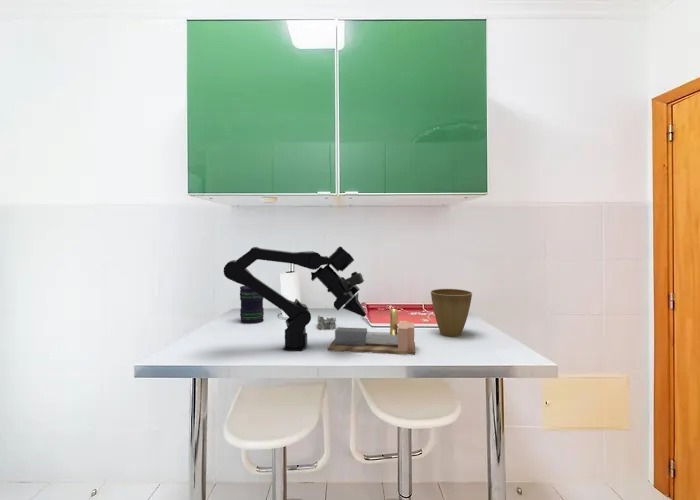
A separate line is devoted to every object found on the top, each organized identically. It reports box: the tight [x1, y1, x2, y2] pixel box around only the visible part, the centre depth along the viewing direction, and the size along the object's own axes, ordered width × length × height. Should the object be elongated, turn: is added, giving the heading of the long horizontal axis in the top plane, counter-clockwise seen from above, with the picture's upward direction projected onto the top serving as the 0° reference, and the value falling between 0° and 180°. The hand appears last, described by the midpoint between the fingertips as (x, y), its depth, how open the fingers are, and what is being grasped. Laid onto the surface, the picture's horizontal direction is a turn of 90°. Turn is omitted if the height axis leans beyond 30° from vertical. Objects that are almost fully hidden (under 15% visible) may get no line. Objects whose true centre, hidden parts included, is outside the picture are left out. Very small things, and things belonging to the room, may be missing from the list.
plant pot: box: [430, 288, 473, 337], centre depth 149 cm, size 15×15×16 cm
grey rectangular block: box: [334, 326, 368, 347], centre depth 133 cm, size 10×5×5 cm, turn 81°
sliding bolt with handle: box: [366, 308, 399, 344], centre depth 131 cm, size 14×3×11 cm, turn 81°
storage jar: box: [239, 285, 265, 325], centre depth 171 cm, size 10×10×15 cm
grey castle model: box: [316, 314, 337, 331], centre depth 161 cm, size 11×8×4 cm
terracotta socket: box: [398, 320, 415, 351], centre depth 130 cm, size 5×10×7 cm, turn 171°
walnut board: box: [327, 338, 416, 356], centre depth 132 cm, size 28×11×1 cm, turn 81°
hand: (365, 315), depth 131 cm, fingers closed
